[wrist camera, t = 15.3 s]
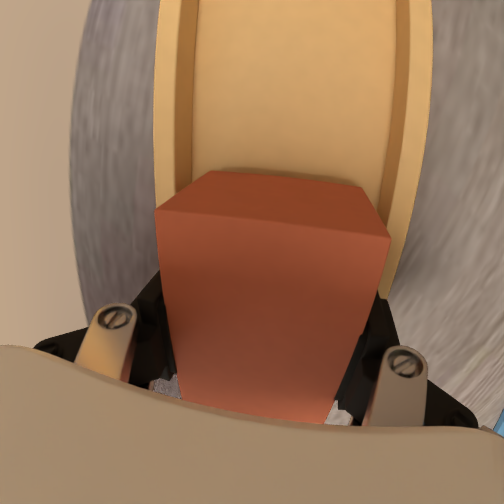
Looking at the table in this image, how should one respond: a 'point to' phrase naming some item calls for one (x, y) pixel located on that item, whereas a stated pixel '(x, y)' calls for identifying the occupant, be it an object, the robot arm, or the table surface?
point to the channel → (297, 97)
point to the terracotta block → (267, 289)
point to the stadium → (500, 425)
